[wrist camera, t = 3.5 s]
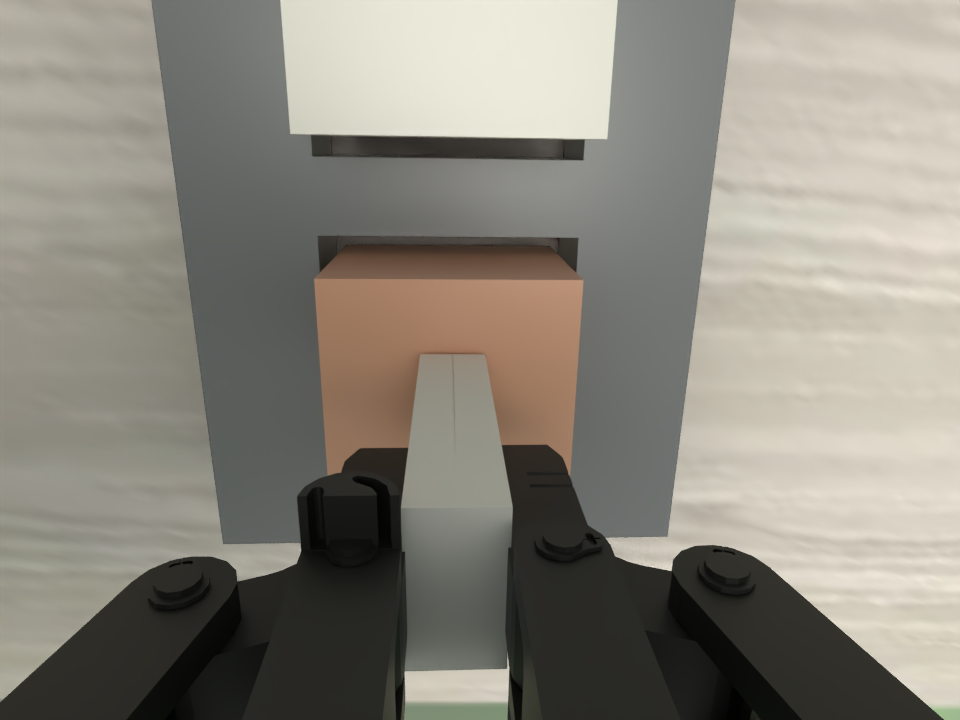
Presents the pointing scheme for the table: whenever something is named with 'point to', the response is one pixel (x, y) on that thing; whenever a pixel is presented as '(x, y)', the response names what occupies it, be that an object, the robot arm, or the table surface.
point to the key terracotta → (446, 339)
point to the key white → (449, 68)
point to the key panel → (440, 213)
